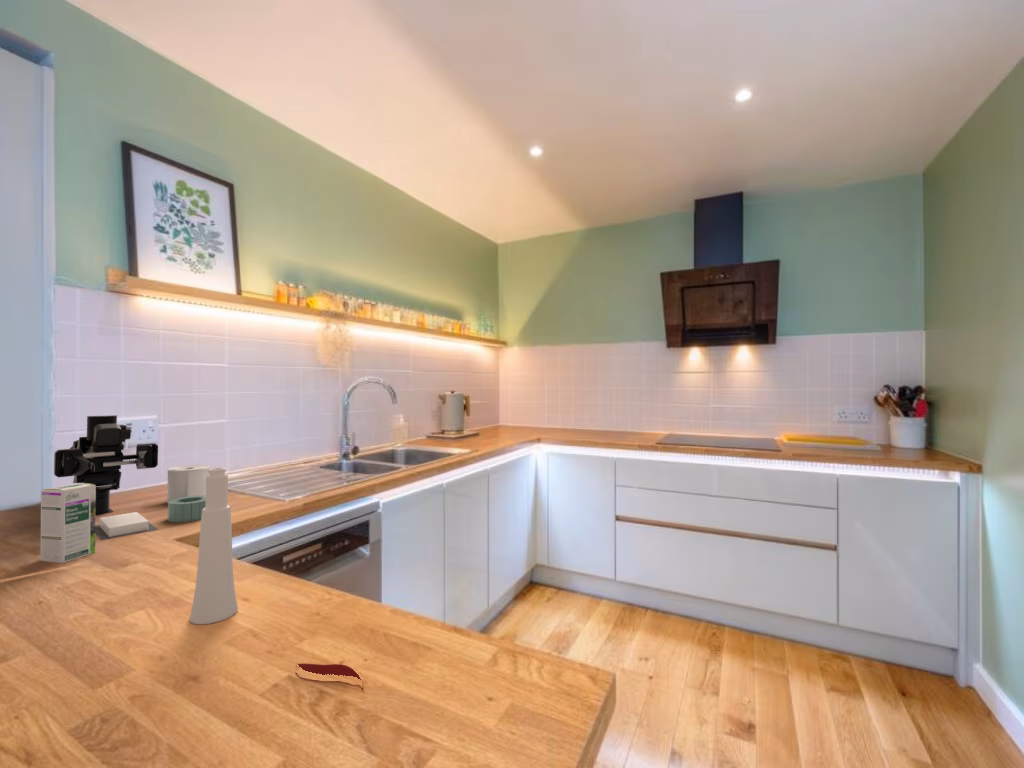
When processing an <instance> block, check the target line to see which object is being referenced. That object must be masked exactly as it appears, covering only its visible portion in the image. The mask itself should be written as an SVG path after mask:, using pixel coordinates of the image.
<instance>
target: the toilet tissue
mask: <svg viewBox="0 0 1024 768" xmlns="http://www.w3.org/2000/svg"><path fill="white" fill-rule="evenodd" d="M209 469H212V466H211V465H210V464H209V465H208V464H191V465H180V466H173V467H169V468H168V469H167V483H166V484H167V488H166V489H167V490H166V491H167V493H166V503H167V504H168V502H169V501H170V500H173V499H177V498H181V497H188V496H206V477H207V476H208V475H209V473H208V470H209Z"/></svg>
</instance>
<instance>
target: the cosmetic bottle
mask: <svg viewBox="0 0 1024 768" xmlns="http://www.w3.org/2000/svg"><path fill="white" fill-rule="evenodd" d="M226 472H227V468H226V467H214V468H212V467H211V469H209V470H208V473H209V475H208V476H207V477H206V507H205V508H204V509H202V517H201V519H200V531H199V543H198V545H199V546H198V557H197V566H196V567H197V570H196V578H195V579H196V580H195V587H194V588H195V589H194V596H193V601H192V604H191V605H192V607H191V611H190V616H189V621H190V623H192V624H194V625H210V624H211V625H212V624H214V623H218V622H222V621H225V620H226V619H229V618H231V617H232V616H234V615H235V614H236V613H237V611H238V609H239V607H238V601H237V597H236V596H237V595H236V589H235V578H234V563H233V560H234V559H233V533H232V532H233V531H232V530H233V529H232V509H231V505H229V504H228V497H229V496H228V495H229V493H228V490H229V476H228V474H227V473H226Z"/></svg>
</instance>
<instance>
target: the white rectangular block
mask: <svg viewBox="0 0 1024 768" xmlns="http://www.w3.org/2000/svg"><path fill="white" fill-rule="evenodd" d="M98 519H99V523H98V525H99V526H100V528H101V529H102V530H103V531H104V532H105V533H106V534H107V535H108V536H109V537H112V536H117V535H122V534H128V533H133V532H138V531H144V530H149V523H150V521H149V520H148V519H147V518H146V517H144V516H143V515H141V514H140V513H139V512H137V511H136V512H135V511H133V512H127V513H122V514H115V515H110V516H103V517H99V518H98Z"/></svg>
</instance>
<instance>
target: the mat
mask: <svg viewBox="0 0 1024 768" xmlns="http://www.w3.org/2000/svg"><path fill="white" fill-rule="evenodd" d="M158 530H159V529H158V527H156V526H154V525H153V524H152V523H151V522H149V530H144V531H138V532H133V533H128V534H122V535H117V536H112V537H109V536H108V535H107V534H106V533H105V532H104V531H103V530H102V529H101V528H100V526H99V524H95V536H97V537H98V539H100V540H101V541H106V540H110V539H115V538H121V537H125V536H132V535H136V534H141V533H147V532H154V531H158Z"/></svg>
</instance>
